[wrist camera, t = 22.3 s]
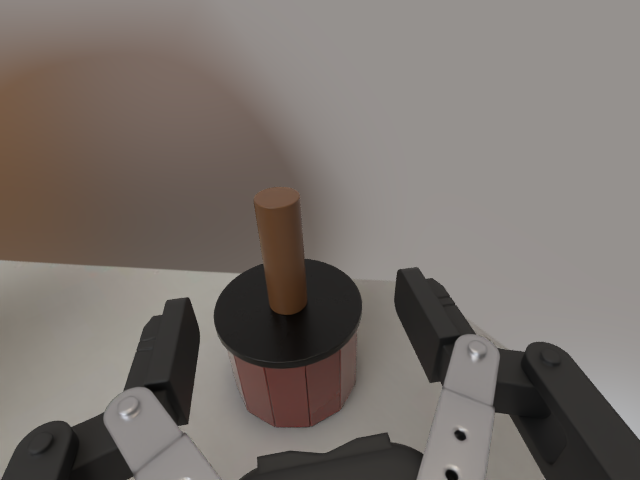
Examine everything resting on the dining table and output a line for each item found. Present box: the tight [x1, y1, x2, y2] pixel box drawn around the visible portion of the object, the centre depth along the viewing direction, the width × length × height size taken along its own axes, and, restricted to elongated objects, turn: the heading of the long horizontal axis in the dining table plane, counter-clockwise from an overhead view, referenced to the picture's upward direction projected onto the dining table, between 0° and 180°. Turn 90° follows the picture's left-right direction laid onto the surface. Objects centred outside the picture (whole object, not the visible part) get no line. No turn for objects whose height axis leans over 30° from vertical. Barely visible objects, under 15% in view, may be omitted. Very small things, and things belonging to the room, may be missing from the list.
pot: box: [228, 330, 357, 427], centre depth 27 cm, size 9×9×7 cm
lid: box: [214, 187, 362, 369], centre depth 23 cm, size 10×10×9 cm
